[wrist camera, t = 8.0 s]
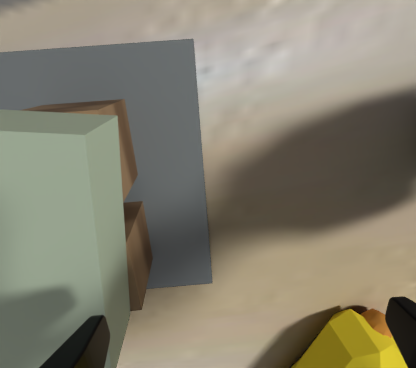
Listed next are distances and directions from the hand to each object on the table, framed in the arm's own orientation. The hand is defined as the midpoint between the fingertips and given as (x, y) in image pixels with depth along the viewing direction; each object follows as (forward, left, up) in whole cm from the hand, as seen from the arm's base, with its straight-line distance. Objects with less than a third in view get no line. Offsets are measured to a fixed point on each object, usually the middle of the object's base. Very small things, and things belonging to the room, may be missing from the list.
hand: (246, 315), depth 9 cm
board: (+8, 0, -12) cm, 14 cm away
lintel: (+8, 0, -6) cm, 10 cm away
